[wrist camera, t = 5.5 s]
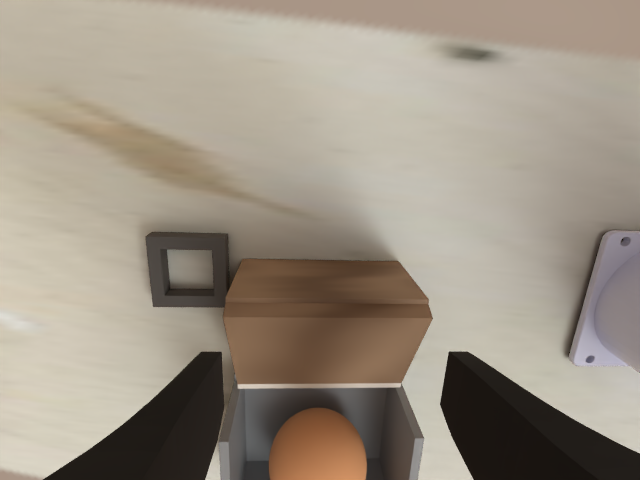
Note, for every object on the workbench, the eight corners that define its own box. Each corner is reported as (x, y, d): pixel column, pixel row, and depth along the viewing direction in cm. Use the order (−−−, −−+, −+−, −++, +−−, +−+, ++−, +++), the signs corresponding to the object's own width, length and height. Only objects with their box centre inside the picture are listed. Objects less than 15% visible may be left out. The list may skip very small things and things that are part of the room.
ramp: (398, 261, 18) (434, 306, 14) (388, 357, 20) (416, 427, 15) (242, 258, 18) (222, 304, 13) (245, 357, 19) (227, 430, 15)
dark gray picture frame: (227, 233, 17) (224, 238, 17) (230, 300, 18) (227, 307, 18) (152, 232, 17) (145, 236, 16) (159, 299, 18) (152, 306, 17)
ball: (379, 545, 15) (375, 418, 17) (262, 549, 15) (268, 419, 16) (357, 495, 20) (356, 399, 21) (269, 497, 20) (273, 400, 21)
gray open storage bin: (395, 359, 20) (425, 431, 15) (383, 457, 22) (407, 546, 17) (238, 360, 19) (218, 434, 15) (241, 460, 21) (224, 554, 17)
